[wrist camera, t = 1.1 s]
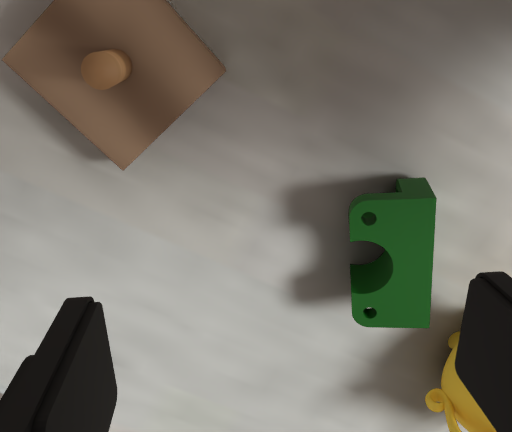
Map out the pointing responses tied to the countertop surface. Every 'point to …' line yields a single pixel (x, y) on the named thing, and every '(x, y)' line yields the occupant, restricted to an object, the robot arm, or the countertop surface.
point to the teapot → (457, 398)
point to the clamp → (394, 256)
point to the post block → (115, 69)
